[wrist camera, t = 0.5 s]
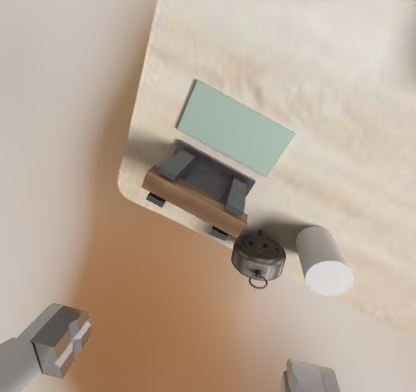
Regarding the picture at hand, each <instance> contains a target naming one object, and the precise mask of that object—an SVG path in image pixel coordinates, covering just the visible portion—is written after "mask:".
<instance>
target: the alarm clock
mask: <svg viewBox="0 0 416 392" xmlns="http://www.w3.org/2000/svg"><path fill="white" fill-rule="evenodd" d="M285 259H286V254H285V251H284V249H283V248H282V247H281V246H280V245H279V244H278V243H277V242H275V241H274V240H272V239H270V238H267V237H265V236H262V230H259V234H258V235H244V236H241V237H239V238H238V239H237V240H236V241H235V243H234V247H233V252H232V258H231V260H232V264H233V265H234V267H235V268H236V269H237V270H238V271H239V272H240V273H242V274H243V275H245V276H247V277H249V283H250V285H251V286H252V287H254V288H256V289H264V288H265V287H267V284H268V283H267V281H269V280H274V279H276V278H278V277H279V276H280V275H281V274H282V270H283V266H284V263H285ZM250 279H255V280H260V281H266V285H265V286H264V287H256V286H254V285H253V284H252V283H251V281H250Z"/></svg>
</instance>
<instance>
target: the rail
mask: <svg viewBox="0 0 416 392" xmlns="http://www.w3.org/2000/svg"><path fill="white" fill-rule="evenodd" d="M158 169H159V167H158V166H156V165H155V166H154V167H152V168H151V169H150V170H148V171H147V174H146V176H145V179H144V181H143V184H142V188H144V189H146V190H148V191H149V192H151V193H153V194H155V195H157V196H159V197H161V198H163V199H164V200H166V201H168V202H170V203H172V204H174V205H176V206H178V207H179V208H181V209H183V210H185V211H187V212H189V213H191V214H193V215H194V216H196V217H198V218H200V219H202V220H204V221H206V222H207V223H209V224H211V225H213V226H215V227H217V228H219V229H221V230H222V231H224V232H226V233H228V234H230V235H232V236H234V237H236V238H238V236H239V235H240V233H241V232H242V231H243V229H244V228H245V226H246V225H247V216H248V215H247V214H245V213H243V214H242V216H241V217H240V216H238V215H236V214H235V213H233V212H231V211H229V210H227V209H225V208H224V207H225V203H224V202H223V201H221V200H219V199H217V198H215V197H213V196H211V195H210V194H208V193H206V192H204V191H202V190H200V189H198V188H197V187H195V186H193V185H191V184H189V183H187V182H185V181H184V180H182V179H180V178H178V177H177V179H176V180H175V181H173V180H171V179H169V178H168V177H166V176H164V175H162V174H160V173H158Z"/></svg>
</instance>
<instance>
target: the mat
mask: <svg viewBox="0 0 416 392" xmlns="http://www.w3.org/2000/svg"><path fill="white" fill-rule="evenodd" d="M177 129H179V130H181V131H182V132H184V133H186V134H188V135H190V136H192V137H193V138H195V139H197V140H199V141H201V142H203V143H204V144H206V145H208V146H210V147H212V148H214V149H216V150H217V151H219V152H221V153H223V154H225V155H227V156H228V157H230V158H232V159H234V160H236V161H238V162H239V163H241V164H243V165H245V166H247V167H249V168H250V169H252V170H254V171H256V172H258V173H260V174H261V175H263V176H265V177H267V176H268V174H269V173H270V171H271V170H272V168H273V167H274V165H275V164H276V162H277V161H278V159H279V158H280V156H281V155H282V153H283V152H284V150H285V149H286V147H287V146H288V144H289V143H290V141H291V140H292V138H293V137H294V135H295V133H293V132H292V131H290V130H288V129H286V128H284V127H283V126H281V125H279V124H277V123H275V122H273V121H272V120H270V119H268V118H266V117H264V116H263V115H261V114H259V113H257V112H255V111H254V110H252V109H250V108H248V107H246V106H244V105H243V104H241V103H239V102H237V101H235V100H234V99H232V98H230V97H228V96H226V95H224V94H223V93H221V92H219V91H217V90H215V89H214V88H212V87H210V86H208V85H206V84H204V83H203V82H201V81H199V80H197V83H196V85H195V87H194V90H193V92H192V95H191V97H190V99H189V102H188V104H187V107H186V109H185V111H184V114H183V116H182V119H181V121H180V124H179V126H178V128H177Z"/></svg>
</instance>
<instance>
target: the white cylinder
mask: <svg viewBox="0 0 416 392" xmlns="http://www.w3.org/2000/svg"><path fill="white" fill-rule="evenodd" d="M296 247H297V251H298V254H299V258H300V262H301V266H302V270H303V274H304V278H305V282H306V284H307V286H308V287H309V289H310V290H312V291H313V292H315V293H317V294H320V295H323V296H335V295H339V294H342V293H344V292H346V291H347V290H348V289H349V288H350V287H351V286H352V284H353V282H354V274H353V272H352V270H351V268H350V266H349V265H348V263H347V261H346V259H345V257H344V255H343V253H342V251H341V250H340V248H339V246H338V244H337V242H336V240H335V238H334V236H333V235H332V233H331V232H330V231H329V230H328V229H326V228H324V227H321V226H310V227H307V228H305V229H303V230H302V231H300V232H299V234H298V235H297V237H296Z"/></svg>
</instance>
